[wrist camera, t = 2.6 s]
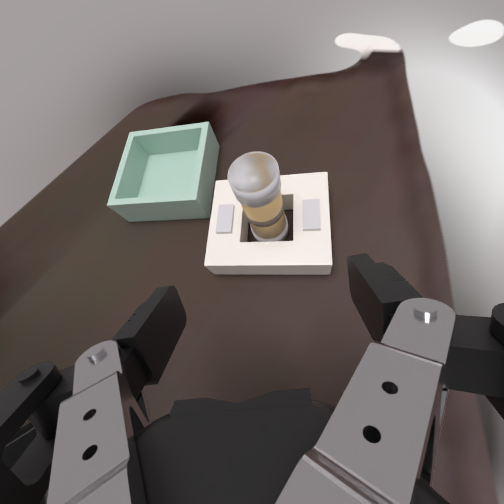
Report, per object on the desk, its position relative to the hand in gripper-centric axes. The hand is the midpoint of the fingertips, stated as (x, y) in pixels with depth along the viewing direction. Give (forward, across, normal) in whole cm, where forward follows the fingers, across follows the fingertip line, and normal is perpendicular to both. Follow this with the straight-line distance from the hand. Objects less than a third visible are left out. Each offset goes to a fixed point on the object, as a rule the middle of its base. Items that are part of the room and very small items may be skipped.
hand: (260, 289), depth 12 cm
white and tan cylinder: (+17, 0, +3) cm, 17 cm away
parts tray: (+24, +12, -4) cm, 27 cm away
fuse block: (+17, 0, +3) cm, 17 cm away
